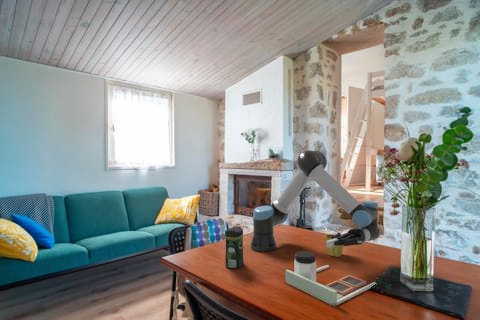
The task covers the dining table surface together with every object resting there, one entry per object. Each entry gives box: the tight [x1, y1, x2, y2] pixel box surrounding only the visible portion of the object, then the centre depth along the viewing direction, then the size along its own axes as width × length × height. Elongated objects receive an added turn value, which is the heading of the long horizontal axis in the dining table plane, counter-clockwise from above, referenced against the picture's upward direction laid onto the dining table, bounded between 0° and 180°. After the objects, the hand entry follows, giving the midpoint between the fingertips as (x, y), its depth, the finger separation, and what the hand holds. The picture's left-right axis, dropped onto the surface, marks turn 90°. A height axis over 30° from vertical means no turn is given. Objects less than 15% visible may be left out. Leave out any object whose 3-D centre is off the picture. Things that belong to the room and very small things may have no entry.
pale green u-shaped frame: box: [284, 264, 377, 307], centre depth 117 cm, size 28×24×5 cm
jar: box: [293, 250, 317, 282], centre depth 118 cm, size 9×8×12 cm
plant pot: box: [324, 233, 344, 258], centre depth 153 cm, size 10×10×10 cm
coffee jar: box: [224, 225, 245, 270], centre depth 138 cm, size 10×8×19 cm
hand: (327, 244), depth 124 cm, fingers closed
